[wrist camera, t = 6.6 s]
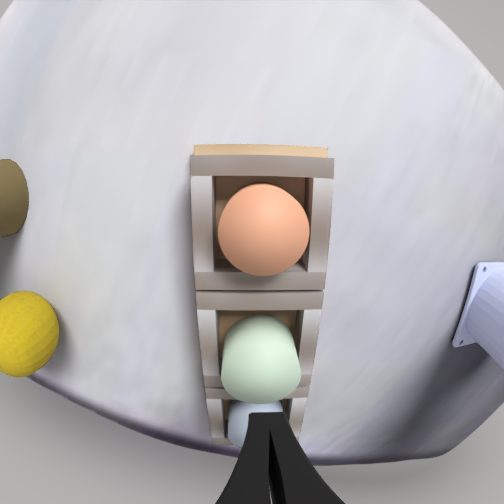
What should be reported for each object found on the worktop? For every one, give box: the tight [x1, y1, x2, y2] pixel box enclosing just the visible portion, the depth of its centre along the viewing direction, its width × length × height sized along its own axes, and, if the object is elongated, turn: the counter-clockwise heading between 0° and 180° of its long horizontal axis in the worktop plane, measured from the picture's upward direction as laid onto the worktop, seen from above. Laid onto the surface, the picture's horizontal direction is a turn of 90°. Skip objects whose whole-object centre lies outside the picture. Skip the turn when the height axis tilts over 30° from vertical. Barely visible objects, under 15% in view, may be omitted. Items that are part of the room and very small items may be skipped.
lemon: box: [0, 291, 59, 377], centre depth 15 cm, size 6×6×8 cm
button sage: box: [221, 315, 301, 404], centre depth 15 cm, size 4×4×3 cm
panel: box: [191, 144, 334, 445], centre depth 18 cm, size 22×7×3 cm, turn 179°
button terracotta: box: [218, 182, 309, 276], centre depth 14 cm, size 4×4×3 cm
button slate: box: [228, 399, 283, 448], centre depth 18 cm, size 4×4×3 cm
